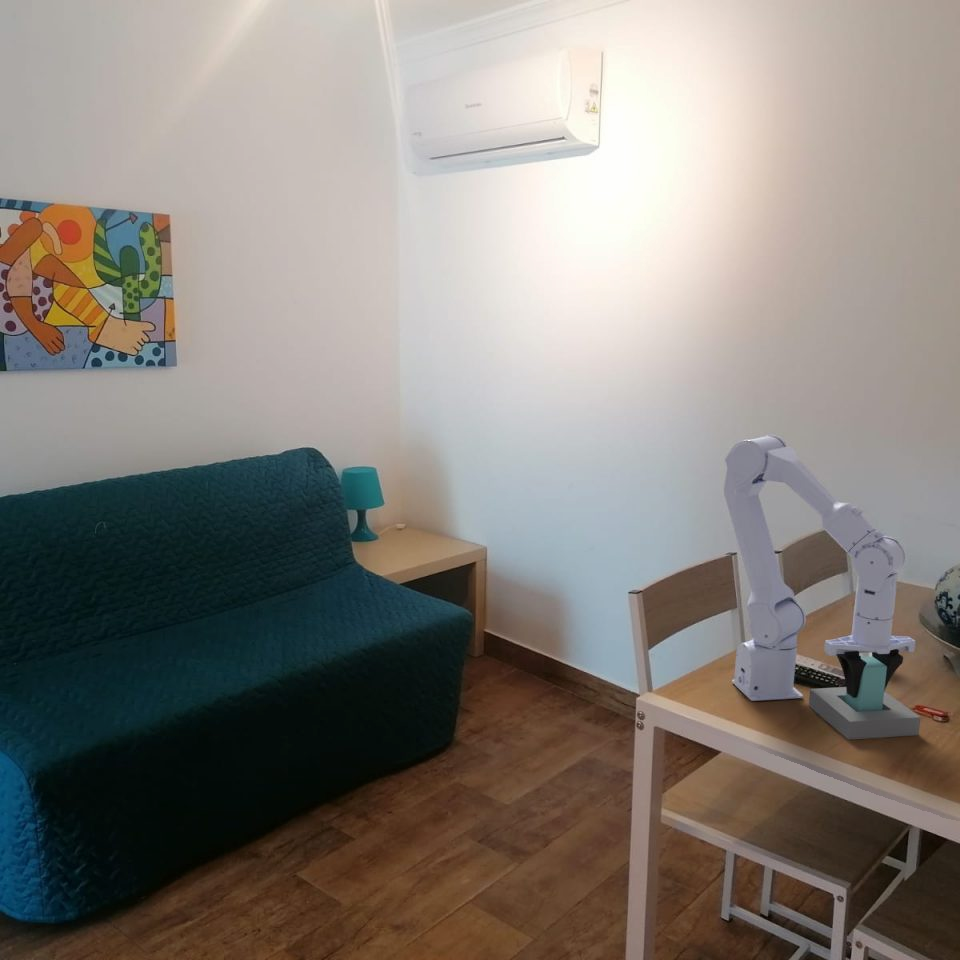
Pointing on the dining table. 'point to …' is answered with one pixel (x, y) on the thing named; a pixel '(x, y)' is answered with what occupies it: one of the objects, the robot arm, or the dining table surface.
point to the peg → (869, 687)
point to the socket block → (863, 716)
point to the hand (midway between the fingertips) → (864, 694)
